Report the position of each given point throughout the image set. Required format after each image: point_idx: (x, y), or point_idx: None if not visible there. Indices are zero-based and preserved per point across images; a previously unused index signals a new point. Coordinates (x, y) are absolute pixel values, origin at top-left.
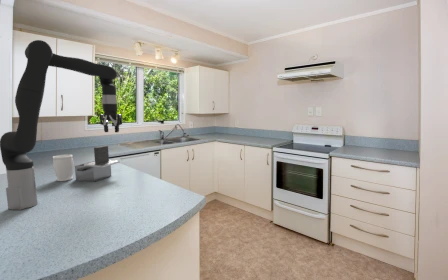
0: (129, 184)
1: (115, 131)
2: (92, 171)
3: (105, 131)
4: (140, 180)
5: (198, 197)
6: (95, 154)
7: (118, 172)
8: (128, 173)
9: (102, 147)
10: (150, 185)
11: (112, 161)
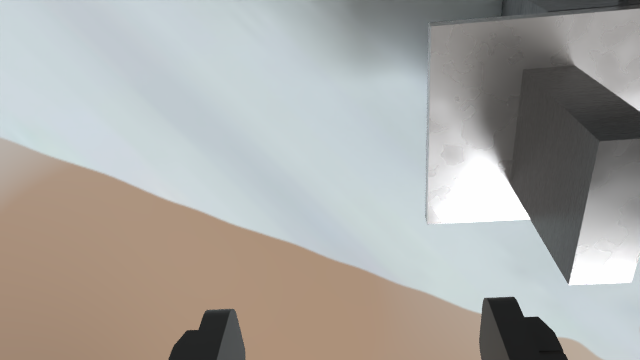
0: (204, 37)
1: (212, 318)
2: (545, 2)
3: (492, 303)
4: (212, 134)
5: None
6: (606, 101)
7: (501, 230)
8: (414, 231)
9: (582, 206)
10: (62, 70)
11: (475, 192)
